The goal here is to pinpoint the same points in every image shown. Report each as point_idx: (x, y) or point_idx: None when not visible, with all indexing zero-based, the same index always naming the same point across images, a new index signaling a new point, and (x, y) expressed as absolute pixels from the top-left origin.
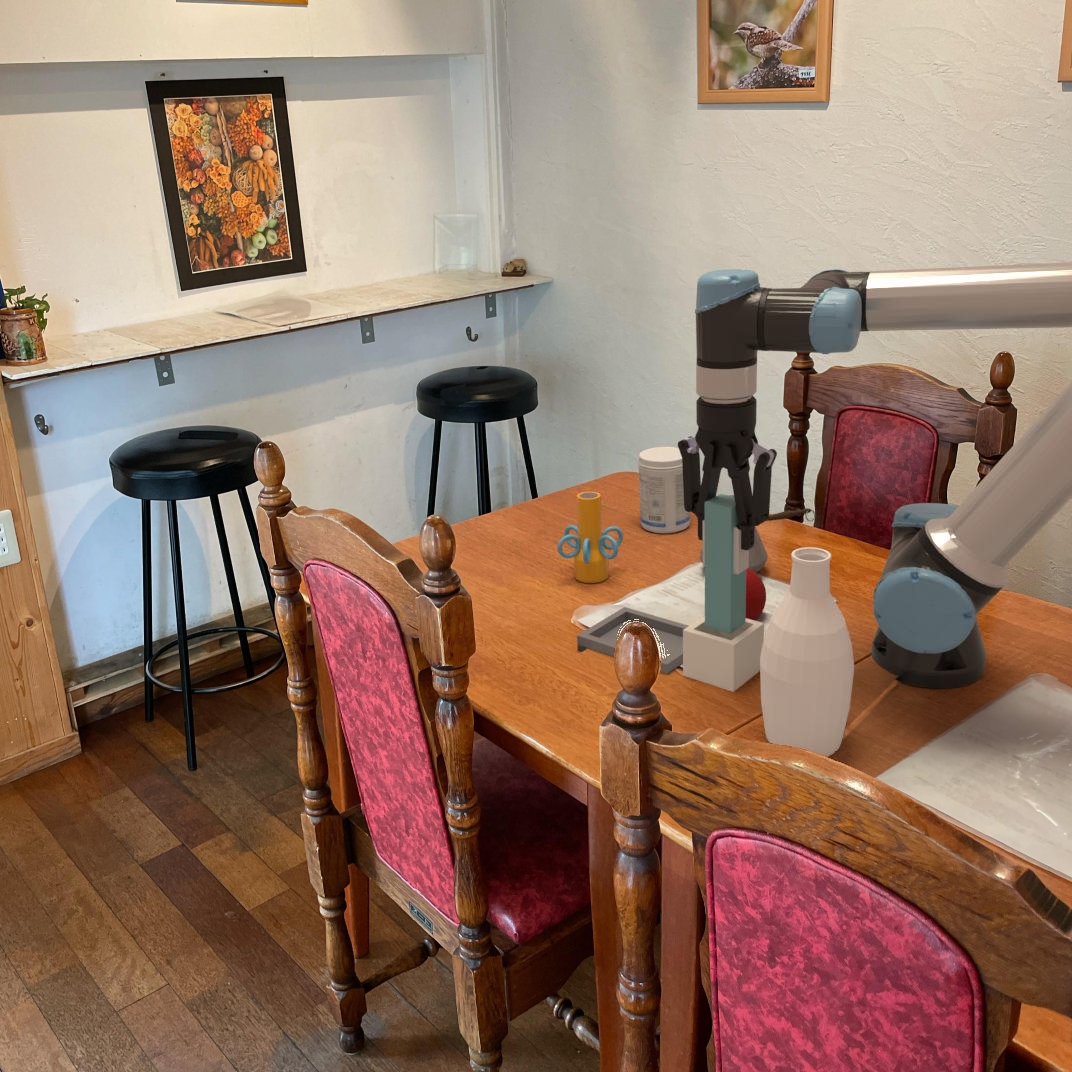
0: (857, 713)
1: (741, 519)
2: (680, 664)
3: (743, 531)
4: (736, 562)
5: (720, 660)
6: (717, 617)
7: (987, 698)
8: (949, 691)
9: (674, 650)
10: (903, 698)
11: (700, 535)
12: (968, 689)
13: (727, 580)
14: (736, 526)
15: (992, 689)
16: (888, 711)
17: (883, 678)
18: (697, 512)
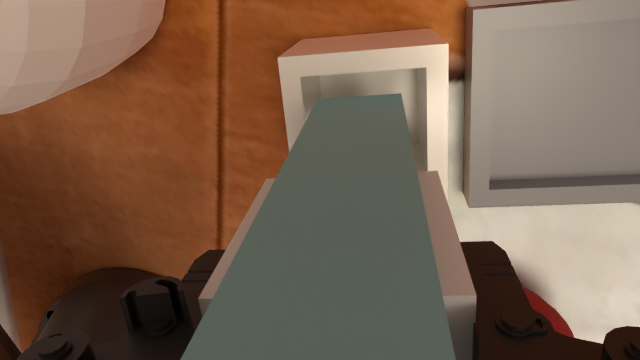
0: (106, 140)
1: (159, 347)
2: (467, 67)
3: (198, 308)
4: (262, 198)
5: (325, 46)
6: (356, 104)
7: (16, 294)
8: (62, 283)
9: (518, 115)
10: (91, 227)
11: (488, 255)
12: (49, 303)
13: (305, 148)
14: (180, 286)
15: (29, 319)
16: (79, 177)
17: (153, 265)
18: (540, 335)
